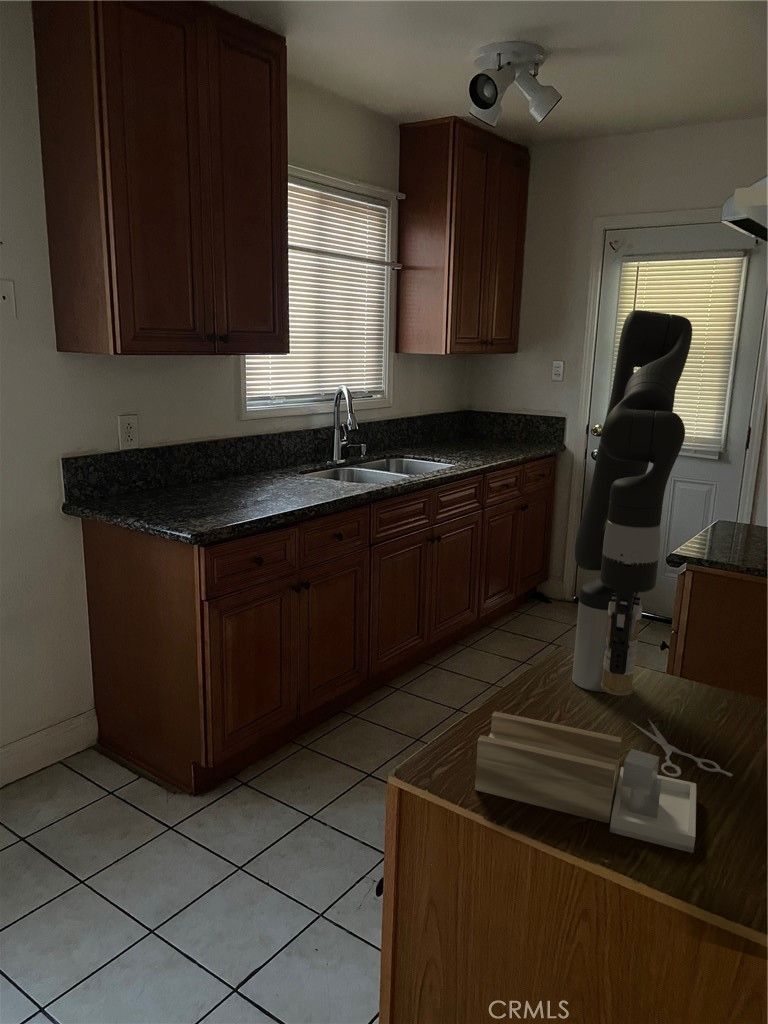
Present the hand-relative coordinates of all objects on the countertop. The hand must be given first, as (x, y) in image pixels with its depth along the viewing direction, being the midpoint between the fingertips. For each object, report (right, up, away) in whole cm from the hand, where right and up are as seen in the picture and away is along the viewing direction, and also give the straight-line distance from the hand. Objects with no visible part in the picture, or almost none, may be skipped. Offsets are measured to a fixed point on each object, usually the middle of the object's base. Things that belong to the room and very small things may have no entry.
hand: (619, 665), depth 110 cm
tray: (+6, -22, +1) cm, 23 cm away
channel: (-9, -21, +7) cm, 24 cm away
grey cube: (+3, -17, +1) cm, 18 cm away
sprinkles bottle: (0, -4, +1) cm, 4 cm away
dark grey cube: (+2, -19, +2) cm, 19 cm away
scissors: (+15, -19, +21) cm, 32 cm away
